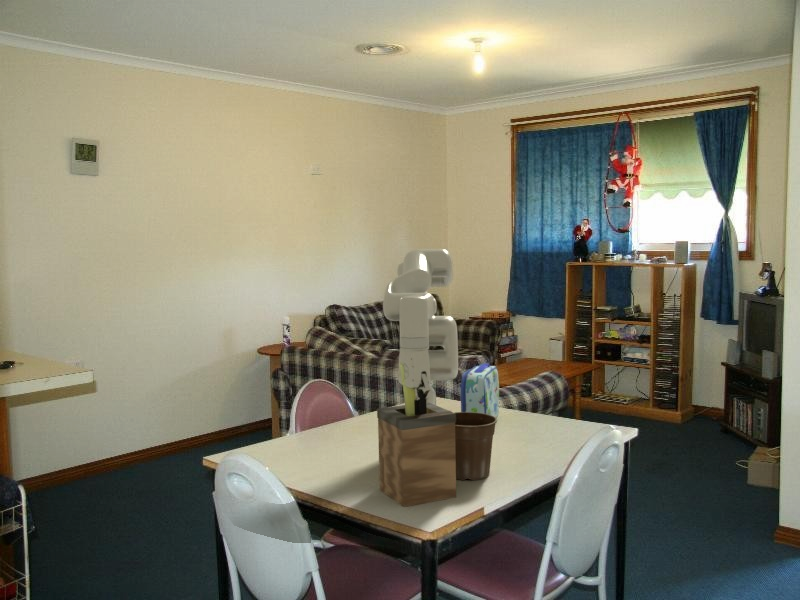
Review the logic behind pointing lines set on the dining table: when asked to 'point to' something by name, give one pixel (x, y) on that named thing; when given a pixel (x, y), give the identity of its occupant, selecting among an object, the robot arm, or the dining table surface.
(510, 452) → the dining table surface
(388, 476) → the socket
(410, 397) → the tube
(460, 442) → the plant pot
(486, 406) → the lunch box
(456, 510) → the dining table surface
